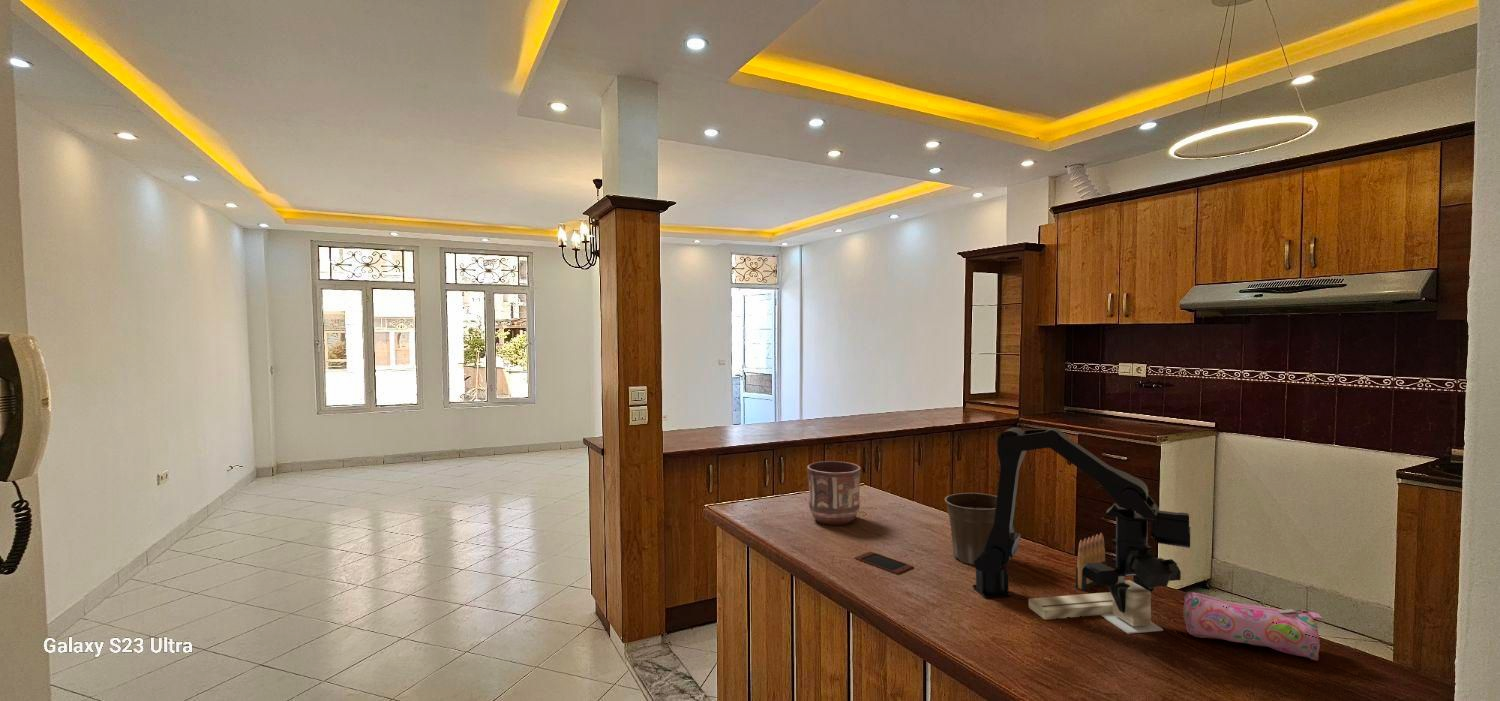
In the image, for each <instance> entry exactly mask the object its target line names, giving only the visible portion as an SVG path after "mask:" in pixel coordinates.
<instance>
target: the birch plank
mask: <svg viewBox="0 0 1500 701" xmlns="http://www.w3.org/2000/svg"><path fill="white" fill-rule="evenodd" d="M1028 608H1029V609H1030V610H1031V611H1033V612H1034V613H1035V614H1036V615H1038V616H1039V617H1040V618H1042V619H1043V620H1055V619H1057V618H1058V619H1068V618H1067V617H1070V618H1080V616H1082V617H1090V616H1091V617H1092V616H1101V615H1103V614H1113V596H1112V594H1111V592H1110V591H1108V592H1106V591H1105V592H1095V593H1085V594H1084V593H1083V594H1072V595H1069V594H1067V595H1060V596H1059V595H1057V596H1046V597H1035V598H1034V597H1032V598H1028Z"/></svg>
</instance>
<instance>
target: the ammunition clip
mask: <svg viewBox="0 0 1500 701" xmlns="http://www.w3.org/2000/svg"><path fill="white" fill-rule="evenodd" d="M1104 539H1105V538H1104V534H1103V533H1102V532H1100V534H1098V533H1097V534H1096V535H1092V536H1088V538H1086V537H1085V538H1084V539H1080V541H1079V544H1078V553H1077V566H1076V568H1075V589H1076V590H1077V589H1078V590H1080V591H1082V590H1083V591H1086V590H1089V589H1091V588H1093V587H1095V586H1099V585H1098V584H1096V583H1095V582H1093V581H1091V580H1090V579H1088V578H1086V577H1085V576H1083V567H1084V565H1085V564H1086V563H1099V562H1101V563H1103V564H1105V565H1107V560H1106V549H1105V540H1104ZM1107 566H1108V565H1107ZM1083 591H1082V592H1083Z"/></svg>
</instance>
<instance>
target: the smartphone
mask: <svg viewBox="0 0 1500 701" xmlns="http://www.w3.org/2000/svg"><path fill="white" fill-rule="evenodd" d="M855 559H856V560H855ZM854 560H855V561H858V560H859V561H858V562H860V563H863V562H864V564H866V563H867V564H866V565H868V566H872V567H874V566H875V568H877V569H881V570H882V571H886V572H889V573H891V574H894V575H896V576H898V575H902V574H904V573H907V572H909V571H910V570H914V569H915V567H914V566H913V565H911V564H909V563H906V562H904V561H901V560H896V559H894V558H891V557H888V556H885V555H883V554H879V553H878V552H877V553H876V552H874V551H868V552H866V553H862V554H860V555H857V556H855V557H854Z"/></svg>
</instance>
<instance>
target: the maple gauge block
mask: <svg viewBox="0 0 1500 701" xmlns="http://www.w3.org/2000/svg"><path fill="white" fill-rule="evenodd" d="M1125 583H1126V584H1128V585H1130V587H1129V588H1128V589H1127V590H1126V599H1125V612H1124V613H1122V612H1120V611H1119V609H1118V607H1117V605H1116V602H1115V600H1114V598H1113V614H1115V615H1116V616H1118V617H1119V618H1121V619H1123V620H1124V621H1126V622H1127V623H1129V624H1130V625H1132V626H1141V625H1151V622H1152V620H1151V616H1152V615H1151V614H1152V613H1151V612H1152V610H1151V609H1152V607H1151V605H1152V603H1151V602H1152V600H1151V598H1152V596H1151V595H1152V593H1151V591H1149V590H1147V589H1145V588H1143V587H1141V586H1140V585H1138V584H1136V583H1134V581H1132V580H1131V579H1130V580H1129V579H1128V580H1127V579H1125Z"/></svg>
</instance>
